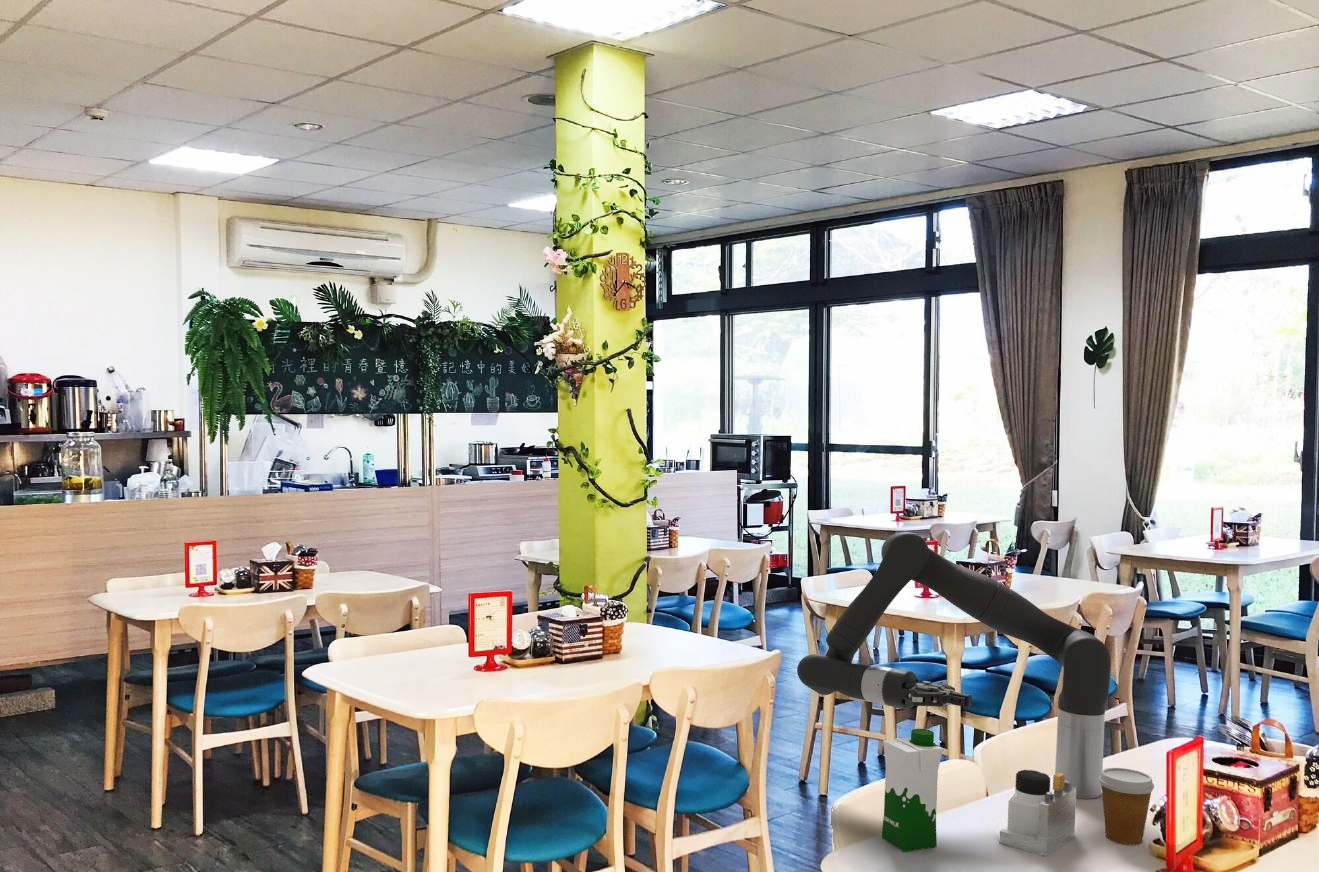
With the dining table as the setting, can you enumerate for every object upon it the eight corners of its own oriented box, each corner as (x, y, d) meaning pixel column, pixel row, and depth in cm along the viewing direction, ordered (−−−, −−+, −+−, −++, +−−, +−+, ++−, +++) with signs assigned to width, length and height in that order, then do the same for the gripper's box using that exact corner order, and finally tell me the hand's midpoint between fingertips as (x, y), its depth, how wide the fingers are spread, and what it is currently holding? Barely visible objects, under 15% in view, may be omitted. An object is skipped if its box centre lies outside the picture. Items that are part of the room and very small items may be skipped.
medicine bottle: (1046, 847, 203) (1049, 781, 203) (1006, 838, 207) (1009, 773, 207) (1054, 835, 210) (1056, 771, 209) (1014, 827, 213) (1017, 764, 213)
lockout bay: (1029, 823, 215) (1032, 757, 215) (1074, 835, 210) (1077, 767, 209) (999, 842, 204) (1002, 773, 204) (1045, 856, 199) (1048, 784, 199)
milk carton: (944, 848, 201) (948, 737, 200) (901, 854, 197) (906, 741, 197) (914, 831, 209) (918, 724, 208) (873, 836, 205) (877, 728, 205)
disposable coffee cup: (1127, 852, 202) (1130, 785, 202) (1085, 833, 211) (1088, 770, 211) (1163, 844, 207) (1166, 779, 206) (1120, 827, 215) (1123, 764, 215)
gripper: (873, 673, 222) (955, 687, 211) (905, 663, 232) (985, 675, 221) (873, 711, 222) (955, 727, 211) (904, 699, 232) (984, 713, 221)
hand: (970, 701), depth 216 cm, fingers closed
